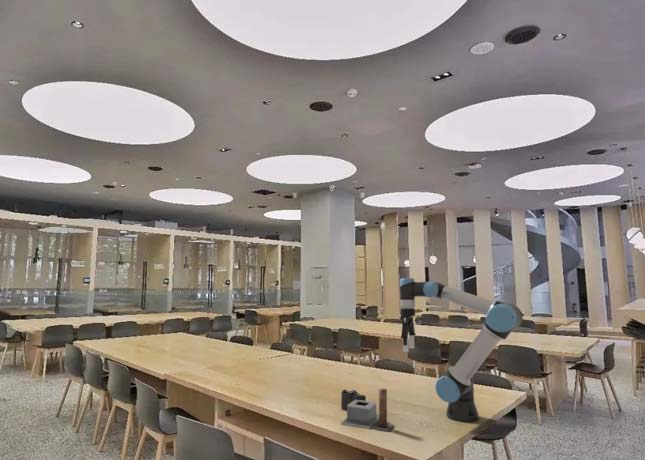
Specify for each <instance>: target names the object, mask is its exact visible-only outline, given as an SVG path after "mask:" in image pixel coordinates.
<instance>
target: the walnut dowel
mask: <svg viewBox="0 0 645 460" xmlns="http://www.w3.org/2000/svg"><path fill="white" fill-rule="evenodd" d="M387 393H388V391H387V389H386V388H378V415H379V420H378V423H379V427H383V428H385V427H387V424H388V394H387Z"/></svg>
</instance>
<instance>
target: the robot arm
mask: <svg viewBox="0 0 645 460" xmlns="http://www.w3.org/2000/svg"><path fill="white" fill-rule="evenodd" d="M399 294H400V295H399V300H400V301H399V304H400V309H399V310H400V316H401V317H402V322H401V323H402V324H401V325H402V326H401V336H400V339H402V352H403V353H404V352H405V353H409V352H410V351H409V349H415V336H416V329H415V324H414V316H416V309H415V308H416V299H415V297H422V298H423V297H424V298H433V297H434V298H437V299H440V300H443V301H446V302H449V303H451V304H454V305H456V306H459V307H463V308H465V309H467V310H471V311H473V312H475V313H479V314H482V315H484V316H485V318H484V319H483V321H482V322H481V324H482V329H481V330H480V331H479V332H478V333H477V335H476V337H474V339H473V340H472V342H471V343H470V345H469V346H468V347H467V348H466V350H465V351H464V352H463V354H462V356H461V357H460V358H459V359H458V361H457V362H456V363H455V364H454V366H449V367H448V369H447V370H446V371H445V372H444V374H443V375H442V376H440V377H438V378H437V380H436V381H435V384H434V385H435V387H434V388H435V393H436V395H437V396H438V397H439V398H440V399H441V400H442V401H443V402H445V403H448V404H447V406H446V417H447V418H448V419H451V420H453V421H458V422H466V423H467V422H469V423H470V422H477V421H479V416H480V415H479V411H478V409H477V405H476V404H475V395H474V394H475V389H474V375H475V373H476V372H477V371H478V369H479V368H480V367H481V366H482V364H483V363H484V362H485V360H486V359H487V358H488V357H489V355H490V354H491V353H492V351H493V350H494V349H495V347H496V346H497V344H498V343H499V342H500V341H502V340H506V339H507V338H508V336H510V334H511V333H512V332H513V330H514V329H517V328H518V327H519V326H521V325H522V322H523V318H524V317H523V312H522V311H521V309H520V308H519V307H518V306H516V305H515V304H513V303H506V302H504V301H503V302H502V301H499V300H495V301H493V300H490V299H487V298H484V297H481V296H478V295H475V294H472V293H468V292H466V291H463V290H460V289H457V288H454V287H451V286H448V285H445V284H443V283H441V282H437V281H415V278H412V277H411V278H410V277H409V278H408V277H407V278H406V277H405V278H404V277H403V278H400V280H399Z"/></svg>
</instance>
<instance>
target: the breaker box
mask: <svg viewBox="0 0 645 460" xmlns="http://www.w3.org/2000/svg"><path fill="white" fill-rule="evenodd" d="M346 414H347V415H346V418H345V419H344V420H342V421H341V425H342V426H343V425H344V426H350V427H356V426H357V427H358V428H363V429H372V427H373V426H374V425H375V424H376V423H377V422H379V414H377V402H376V401H370V400H366V401H363V400H354V401H352V402H351V403H350V404H348V405H347V411H346Z"/></svg>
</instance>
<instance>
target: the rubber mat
mask: <svg viewBox="0 0 645 460" xmlns="http://www.w3.org/2000/svg"><path fill="white" fill-rule="evenodd" d="M394 427H395V424H391V423H387V427H385V428H383V427H379V421H377V422H376V423H375V424H374V425H373V426H372V427H371V429H372V430H375V431H382V432H389V433H390V432H391V431H392V430H393V428H394Z"/></svg>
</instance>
